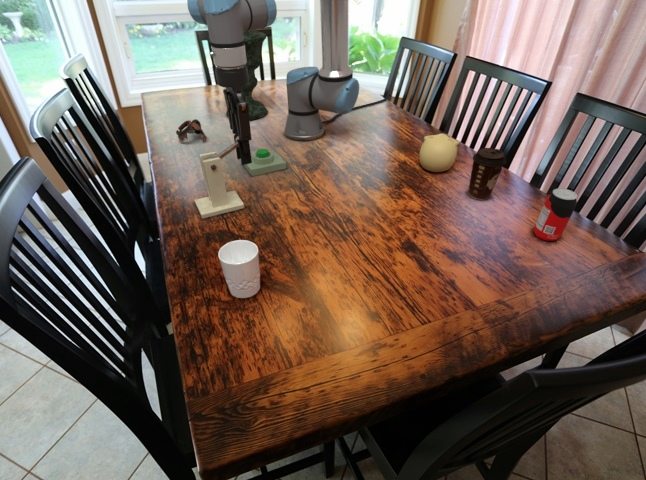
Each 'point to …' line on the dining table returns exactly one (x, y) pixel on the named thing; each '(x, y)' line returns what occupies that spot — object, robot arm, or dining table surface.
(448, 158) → the sculpture
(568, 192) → the beverage can
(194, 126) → the dark curved strip cluster
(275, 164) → the button block
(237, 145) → the switch lever
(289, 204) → the dining table surface
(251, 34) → the goblet
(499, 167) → the coffee cup
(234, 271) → the white cup
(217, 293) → the dining table surface
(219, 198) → the switch bracket
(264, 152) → the light button
